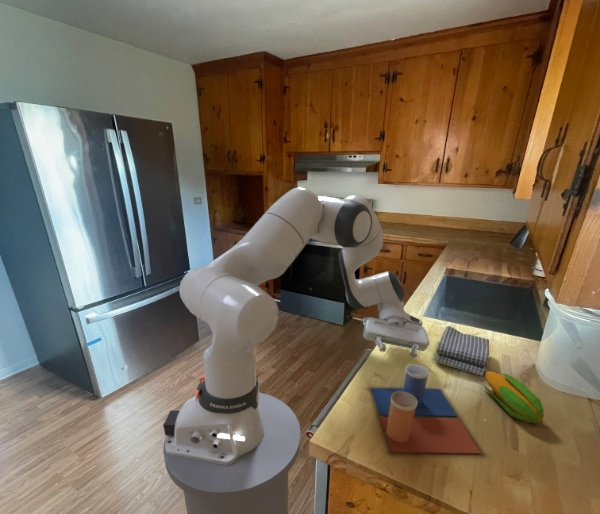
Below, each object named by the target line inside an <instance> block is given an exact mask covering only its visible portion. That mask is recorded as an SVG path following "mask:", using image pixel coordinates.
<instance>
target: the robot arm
mask: <svg viewBox="0 0 600 514" xmlns="http://www.w3.org/2000/svg"><path fill="white" fill-rule="evenodd" d="M310 239H311V240H313V241H317V242H319V243H320V244H326V245H331V246H339V247H342V248H341V249H340V250H339V251H338V263H339V268H340V272H341V277H342V280H343V284H344V288H345V297H346V302H347V303H348V305H349V307H351V308H353V309H355V310H357V311H360V310H363V309H367V308H368V307H371V306H374V305H375V306H376V305H377V311H378V317H371V316H365V317H363V318H362V325H363V326H364V327H363V331H362V337H363V339H364V340H367V341H370V342H374V344H375V345H376V346H377V348H378V349H379V352H383V353H385V352H386V350H387V345H391V346H395V347H400V348H405V349H410V352H409V357H410V358H412V359H416V358H417V356H418V352H417V351H421V352H425V351H426V350H427V349H428V347H429V346H430V338H429V334H428V333H427V330H426V329H425V327H424V326H423V324H424V323H423V321H422V319H420V318H418V317H415V316H413V315H411V314H409V313H408V312H406V311H405V304H404V299H405V292H404V288H403V283H402V281H401V278H400V276H399V275H398V274H396V273H394V272H393V271H390V270H388V271H384V272H380V273H377V274H374V275H370V276H367V277H364V278H363V277H362V278H359V279H357V278H356V274H355V272H356V271H357V270H358V269H359V268H360V267H362V266H363V265H366V264H367V263H368V262H371V261H372V260H373V259H375V258H376V257H377V256H378V254H379V253H381V250H382V249H383V245H384V240H385V239H384V233H383V230H382V227H381V224H380V219H379V218H378V216H377V214H376V212H375V209H374V208H373V206H372V205H371V203H370V202H369V200H368V199H367V198H366V197H365V196H363V195H359V194H350V195H348V196H345V197H343V198H340V197H335V196H331V195H317V194H316V193H314V192H313V191H312V190H310V189H308V188H306V187H299V186H298V187H294V188H291V189H289V190H288V191H287V192H285V194H284V193H283V195H282V196H280V198H278V199H277V200H276V201H274V203H273V204H272V205H271V206H269V208H268V209H266V211H265V212H264V213H263V214H262V216H261V217H260V218H259V219H258V220H257V221H256V222H255V223H254V225H253V226H252V227H251V228H250V229H249V230H248V231H247V232H246V234H245V235H244V236H243V237H242V238H241V239H240V240H239V241H238V242H237V243H236V244H234V245H233V246H232V247H230V248H229V249H228V250H226V251H225V252H224V253H222V254H221V255H219V256H218V257H216V258H215V259H213V260H212V261H210V262H208V263H207V264H204V265H202V266H200V267H196V268H193V269H191V270H189V271H188V272H187V273H186V274H185V275H184V276H183V277H182V279H181V281H180V284H179V291H178V292H179V296H180V299H181V301H182V303H183V304H184V305H185V307H186V308H187V310H188V311H189V312H190V314H192V315H194V316H195V317H196V318H198V319H200V320H201V321H203V323H204V322H205V323H206V324H207V325H208V327H209V328H210V331H211V334H212V335H211V336H212V338H211V344H210V345H209V346H208V347H207V348H206V349H205V350H204V351H203V354H202V366H203V373H201V375H200V378H199V379H198V381H199V383H198V384H197V387H196V392H195V395H193V396H192V397H190V398H188V399H187V400H186V401H185V402H184V403H183V405H182V406H181V408H180V409H179V410H169V413H168V415H167V417H166V418H165V421H164V422H163V425H162V427H163V430H164V435H165V437H166V439H165V438H164V441H165V450H166V453H167V454H168V455H173V456H178V457H183V458H189V459H194V460H199V461H205V462H210V463H215V464H221V465H230V464H232V463H233V462H234V461H235V460H236V459H237V458H238V457H239V456H241V455H243V454H245V453H247V452H249V451H251V450H252V449H254V448H255V447H256V446H257V445H258V444H259V443H260V442H261V441H262V439H263V437H264V433H265V427H264V424H263V422H262V419H261V416H260V412H259V407H258V403H259V393H260V386H259V379H258V377H257V351H258V347H259V345H260V343H262V342H264V341H266V339H268V338H269V337H270V336H271V334H272V333H273V332H274V330H275V329H276V327H277V325H278V321H279V315H280V314H279V312H280V310H279V306H278V303H277V301H276V300H275V299H274V298H273V297H272V296H271V294H269V293H268V292H266V291H265V290H264V289H263V288H261V287H260V285H261V284H263V283H265V282H268V281H271V280H275V279H277V278H279V277H281V276H282V275H284V273H286V271H287V270H288V269H289V267H290V266H291V265H292V263H294V261H295V259H297V257H298V256H299V254H300V253H301V252H302V251H303V249H304V248H305V247H306V245H307V244H308V243H309V241H310ZM221 458H223V459H221Z"/></svg>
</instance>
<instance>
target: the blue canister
mask: <svg viewBox="0 0 600 514" xmlns="http://www.w3.org/2000/svg"><path fill="white" fill-rule="evenodd" d="M429 375H430V370H429V369H428V368H427V367H425V366H424V365H422V364H418V363H409V364H407V365H406V366H405V372H404V377H403V378H404V379H403V384H402V389H403V390H402V392H407V393H410V394H412V395H413V396H414V397H415V398H416V399H417V401H418V403H417V407H416V408H418V407H420V406H422V403H423V398H424V393H425V389H427V384H428V383H427V382H428V379H429Z"/></svg>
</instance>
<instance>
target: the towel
mask: <svg viewBox="0 0 600 514" xmlns="http://www.w3.org/2000/svg"><path fill="white" fill-rule="evenodd" d="M489 357H490V339H488V338H485V337H482V336H477V335H471V334H468V333H463V332H460V331H459V330H458V329H456V328H454V327H453V326H451V325H447V326H446V327H445V329H444V331H443V333H442V335H441V337H440V342H439V343H438V348H437V349H436V356H435V363H437V364H440V365H444V366H447V367H450V368H454V369H458V370H460V371H463V372H467V373H471V374H474V375H478V376H481V377H482V376H484V374H485V373H486V368H487V366H488V361H489Z"/></svg>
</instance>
